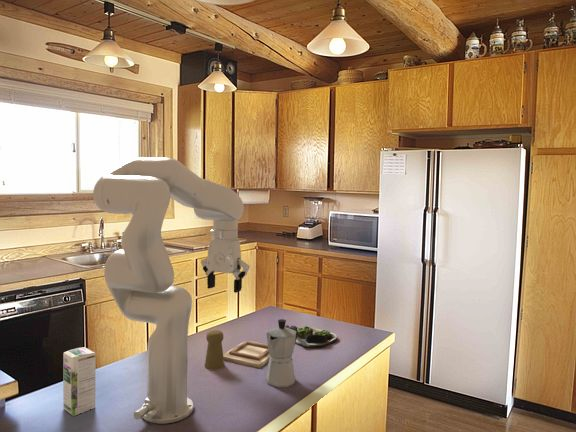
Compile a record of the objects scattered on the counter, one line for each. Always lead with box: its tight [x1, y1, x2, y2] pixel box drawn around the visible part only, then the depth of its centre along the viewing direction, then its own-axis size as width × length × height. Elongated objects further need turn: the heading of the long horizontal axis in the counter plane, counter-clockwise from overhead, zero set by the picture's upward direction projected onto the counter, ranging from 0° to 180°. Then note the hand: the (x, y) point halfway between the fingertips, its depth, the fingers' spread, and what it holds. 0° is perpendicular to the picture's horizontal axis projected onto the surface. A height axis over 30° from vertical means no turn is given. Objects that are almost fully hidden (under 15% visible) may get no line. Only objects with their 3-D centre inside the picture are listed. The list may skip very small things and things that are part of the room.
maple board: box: [223, 339, 271, 369], centre depth 149 cm, size 16×14×2 cm
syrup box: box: [62, 347, 96, 417], centre depth 112 cm, size 6×6×14 cm
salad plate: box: [295, 325, 338, 349], centre depth 166 cm, size 19×18×5 cm
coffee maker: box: [265, 319, 298, 389], centre depth 131 cm, size 15×9×18 cm, turn 149°
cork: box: [204, 329, 225, 371], centre depth 139 cm, size 6×6×11 cm
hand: (224, 289), depth 140 cm, fingers open, 9 cm apart
